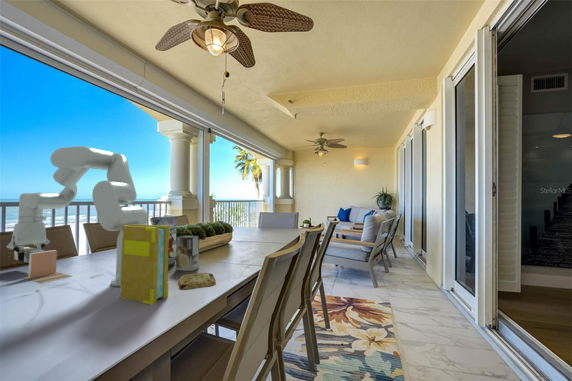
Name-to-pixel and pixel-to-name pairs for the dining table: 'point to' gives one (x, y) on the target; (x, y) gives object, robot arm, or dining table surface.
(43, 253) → the tile
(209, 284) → the pastry
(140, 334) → the dining table surface
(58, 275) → the board
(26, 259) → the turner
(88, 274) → the dining table surface
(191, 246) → the coffee box
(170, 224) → the juice carton
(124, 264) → the book
